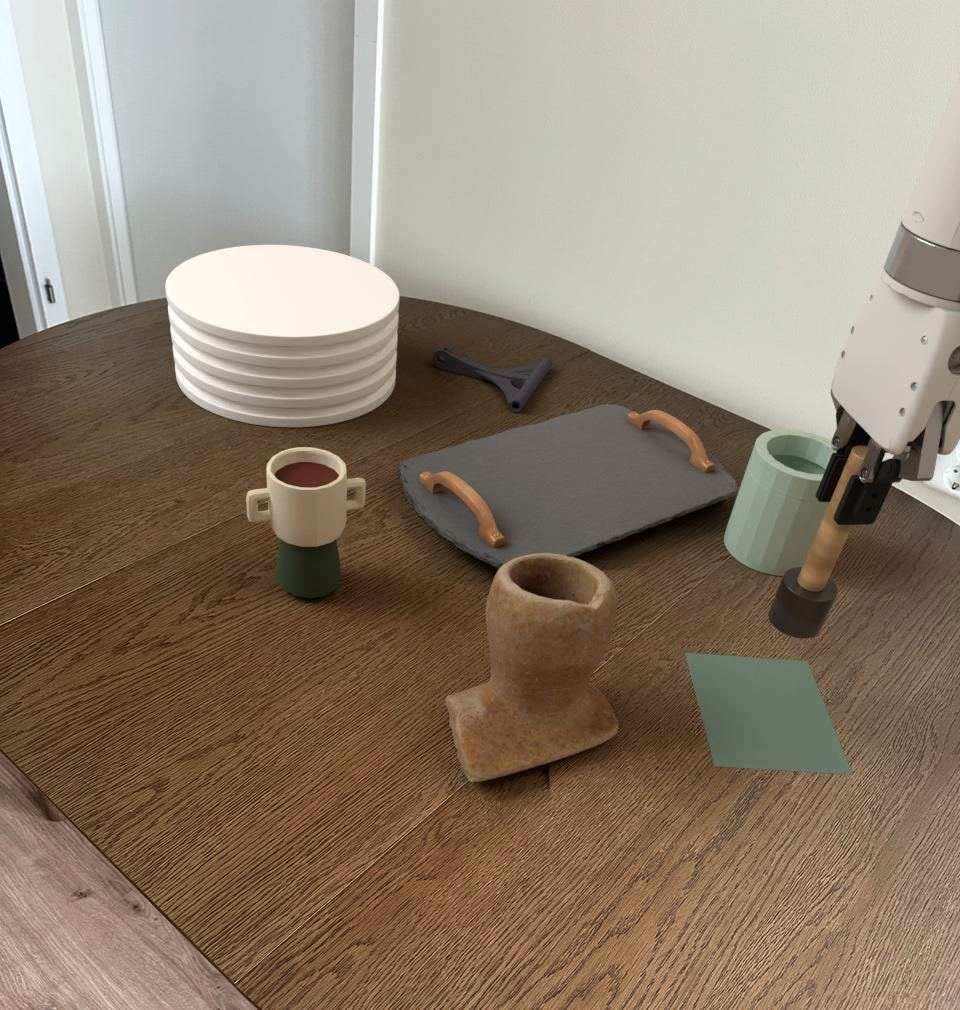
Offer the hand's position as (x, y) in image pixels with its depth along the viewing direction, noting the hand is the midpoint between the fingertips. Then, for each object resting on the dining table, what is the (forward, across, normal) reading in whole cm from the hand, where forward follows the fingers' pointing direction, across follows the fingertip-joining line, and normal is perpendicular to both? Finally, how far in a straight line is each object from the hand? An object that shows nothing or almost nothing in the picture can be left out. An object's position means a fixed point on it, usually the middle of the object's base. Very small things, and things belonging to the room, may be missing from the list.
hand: (844, 509), depth 71 cm
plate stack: (+22, +64, +39) cm, 78 cm away
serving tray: (+22, +34, +9) cm, 41 cm away
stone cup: (+22, 0, +22) cm, 31 cm away
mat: (+21, -1, 0) cm, 21 cm away
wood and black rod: (+11, 0, 0) cm, 11 cm away
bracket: (+22, +63, +13) cm, 68 cm away
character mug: (+22, +20, +39) cm, 49 cm away
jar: (+21, +23, -11) cm, 34 cm away
